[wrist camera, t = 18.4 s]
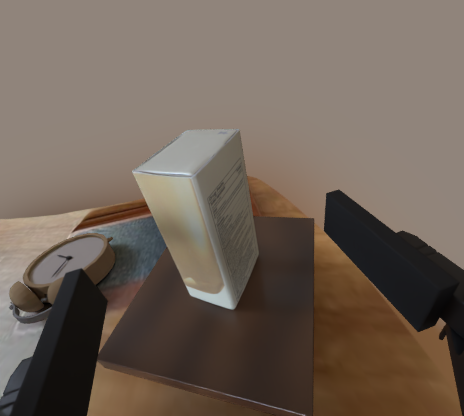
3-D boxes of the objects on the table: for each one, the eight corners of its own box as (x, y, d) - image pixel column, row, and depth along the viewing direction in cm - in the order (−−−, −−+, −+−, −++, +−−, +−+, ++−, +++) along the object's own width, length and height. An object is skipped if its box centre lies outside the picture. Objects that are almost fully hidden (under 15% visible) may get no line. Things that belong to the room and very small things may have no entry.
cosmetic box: (220, 245, 25) (188, 127, 18) (260, 254, 23) (242, 125, 16) (186, 299, 20) (126, 169, 13) (233, 315, 19) (192, 173, 12)
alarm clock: (120, 228, 40) (59, 298, 27) (130, 252, 42) (78, 329, 29) (58, 236, 41) (-32, 307, 28) (70, 259, 43) (-7, 336, 30)
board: (104, 367, 19) (94, 359, 18) (190, 223, 31) (187, 213, 31) (312, 426, 14) (313, 418, 13) (313, 228, 27) (314, 218, 26)
